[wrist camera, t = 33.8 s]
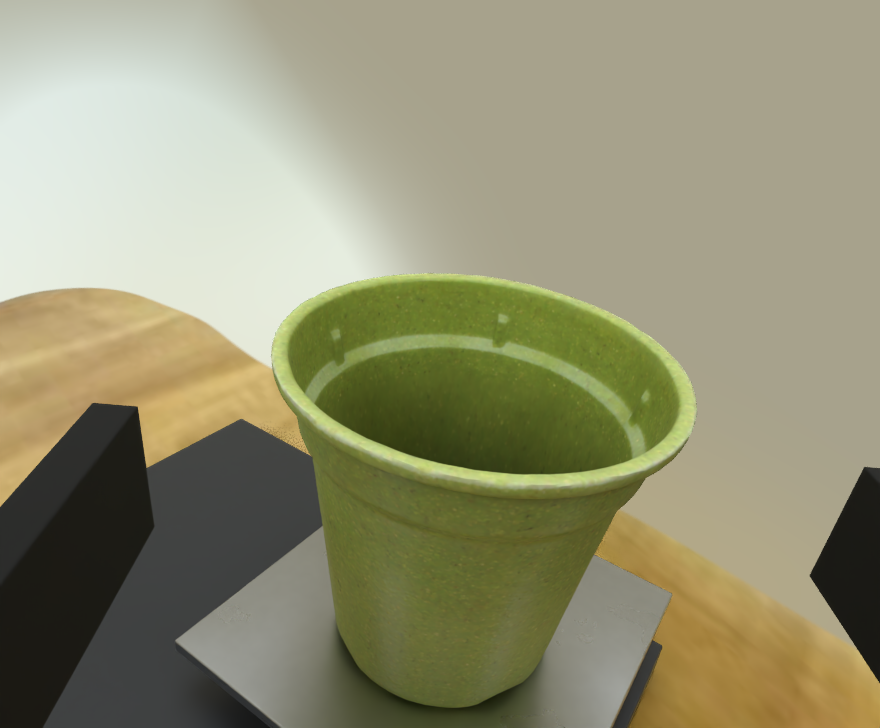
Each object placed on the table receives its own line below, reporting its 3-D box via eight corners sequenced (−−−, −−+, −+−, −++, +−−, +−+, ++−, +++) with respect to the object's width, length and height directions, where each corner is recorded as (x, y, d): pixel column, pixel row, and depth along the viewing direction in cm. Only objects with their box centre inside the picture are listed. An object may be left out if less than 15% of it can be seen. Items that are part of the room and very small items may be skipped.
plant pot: (608, 541, 22) (677, 308, 18) (607, 838, 14) (732, 535, 10) (347, 481, 24) (357, 252, 20) (209, 718, 16) (177, 410, 11)
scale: (654, 669, 22) (678, 606, 21) (283, 1522, 9) (279, 1512, 8) (242, 439, 31) (239, 384, 30) (-238, 705, 18) (-284, 631, 17)
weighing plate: (669, 602, 21) (673, 593, 21) (518, 933, 13) (521, 923, 13) (405, 468, 25) (406, 460, 25) (175, 650, 18) (173, 640, 17)
